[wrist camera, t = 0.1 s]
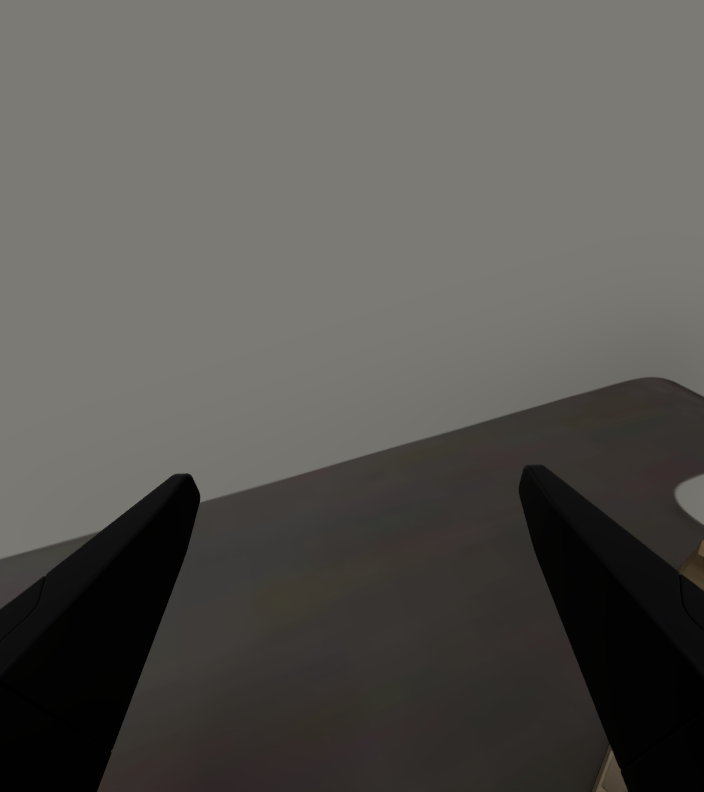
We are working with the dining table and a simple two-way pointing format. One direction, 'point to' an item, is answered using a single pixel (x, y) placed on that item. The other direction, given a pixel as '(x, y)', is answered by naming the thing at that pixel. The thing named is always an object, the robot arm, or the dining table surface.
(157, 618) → the robot arm
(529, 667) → the dining table surface
